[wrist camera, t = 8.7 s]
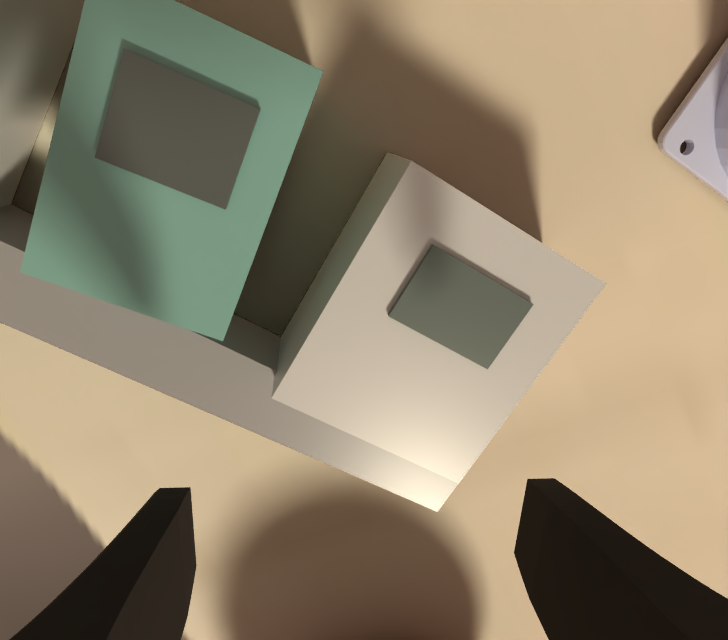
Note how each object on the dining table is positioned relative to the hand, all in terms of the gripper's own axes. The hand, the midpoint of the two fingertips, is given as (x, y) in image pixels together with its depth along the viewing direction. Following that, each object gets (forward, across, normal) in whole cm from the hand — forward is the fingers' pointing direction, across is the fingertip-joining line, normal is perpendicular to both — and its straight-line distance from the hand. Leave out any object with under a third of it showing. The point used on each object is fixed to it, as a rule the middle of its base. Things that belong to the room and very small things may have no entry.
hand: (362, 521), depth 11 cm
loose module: (+10, +4, -7) cm, 13 cm away
